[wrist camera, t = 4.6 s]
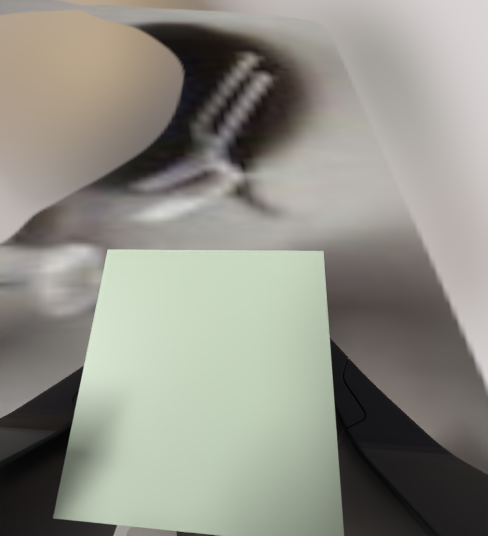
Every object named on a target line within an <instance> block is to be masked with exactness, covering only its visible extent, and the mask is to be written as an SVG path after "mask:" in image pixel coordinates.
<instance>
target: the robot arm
mask: <svg viewBox="0 0 488 536" xmlns="http://www.w3.org/2000/svg"><path fill="white" fill-rule="evenodd" d="M330 349H331V363H332V376H333V390H334V404H335V417H336V431H337V445H338V459H339V472H340V486H341V500H342V513H343V527H344V536H488V475H487V474H486V473H484V472H482V471H480V470H478V469H476V468H475V467H473V466H471V465H469V464H467V463H466V462H464V461H462V460H461V459H459V458H458V457H456V456H455V455H453V454H452V453H450V452H449V451H448V450H446V449H445V448H444V447H442V446H441V445H440V444H439V443H437V442H436V441H435V440H434V439H433V438H431V437H430V436H429V435H428V434H427V433H426V432H425V431H424V430H423V429H421V428H420V427H419V426H418V425H417V424H416V423H415V422H414V421H413V420H412V419H411V418H410V417H408V416H407V415H406V414H405V413H404V412H403V411H402V410H401V409H400V408H399V407H398V406H397V405H395V404H394V403H393V402H392V401H391V400H390V399H389V398H388V397H387V396H386V395H385V394H384V393H383V392H382V391H381V390H379V389H378V388H377V387H376V386H375V385H374V384H373V383H372V382H371V381H370V380H369V379H368V378H367V377H366V376H365V375H364V374H363V373H362V372H361V371H360V370H359V369H358V367H357V366H356V365H355V364H354V363H353V362H352V361H351V360H350V359H348V357H347V356H346V355H345V354H344V352H343V351H342V350H341V349H340V348H339V347H338V346H337V345H336V344H335V343H334V342H333V341H332V339H331V338H330ZM83 369H84V366H83V367H81V368H80V369H78V370H77V371H75V372H74V373H72V374H71V375H69V376H68V377H66V378H65V379H63V380H61V381H60V382H58V383H57V384H55V385H54V386H52V387H51V388H49V389H48V390H46V391H44V392H43V393H41V394H40V395H38V396H37V397H35V398H34V399H32V400H31V401H29V402H27V403H26V404H24V405H23V406H21V407H20V408H18V409H16V410H15V411H13V412H11V413H10V414H8V415H6V416H4V417H2V418H0V536H113V535H114V533H115V530H116V527H117V525H113V524H103V523H94V522H84V521H74V520H65V519H55V518H53V516H54V511H55V506H56V501H57V496H58V491H59V486H60V481H61V476H62V471H63V467H64V462H65V457H66V452H67V447H68V442H69V437H70V432H71V427H72V422H73V418H74V413H75V408H76V403H77V398H78V393H79V388H80V383H81V378H82V373H83Z"/></svg>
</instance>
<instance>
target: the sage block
mask: <svg viewBox="0 0 488 536" xmlns="http://www.w3.org/2000/svg"><path fill="white" fill-rule="evenodd" d="M53 518H55V519H65V520H74V521H84V522H94V523H103V524H113V525H123V526H132V527H142V528H151V529H161V530H171V531H180V532H190V533H200V534H209V535H219V536H344V527H343V513H342V500H341V486H340V472H339V459H338V445H337V431H336V417H335V404H334V390H333V376H332V363H331V349H330V335H329V321H328V308H327V294H326V280H325V267H324V253H323V251H243V250H108V251H107V256H106V261H105V266H104V270H103V275H102V280H101V285H100V290H99V295H98V300H97V305H96V310H95V315H94V319H93V324H92V329H91V334H90V339H89V344H88V349H87V354H86V359H85V364H84V369H83V373H82V378H81V383H80V388H79V393H78V398H77V403H76V408H75V413H74V418H73V422H72V427H71V432H70V437H69V442H68V447H67V452H66V457H65V462H64V467H63V471H62V476H61V481H60V486H59V491H58V496H57V501H56V506H55V511H54V516H53Z"/></svg>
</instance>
